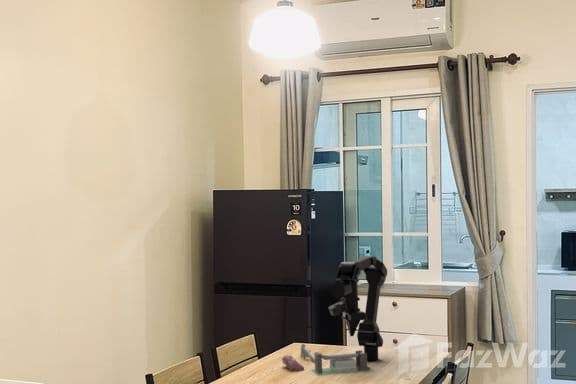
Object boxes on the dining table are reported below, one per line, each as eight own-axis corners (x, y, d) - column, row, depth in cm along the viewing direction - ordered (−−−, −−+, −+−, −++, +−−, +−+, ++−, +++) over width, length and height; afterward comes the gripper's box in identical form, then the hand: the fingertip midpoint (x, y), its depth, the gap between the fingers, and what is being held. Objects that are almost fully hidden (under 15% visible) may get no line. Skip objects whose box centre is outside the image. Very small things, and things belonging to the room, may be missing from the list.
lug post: (315, 371, 254) (314, 352, 255) (321, 370, 255) (320, 351, 255) (318, 373, 250) (317, 354, 251) (324, 372, 251) (323, 354, 251)
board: (310, 371, 257) (310, 369, 257) (364, 366, 262) (364, 364, 262) (317, 377, 247) (317, 375, 247) (373, 371, 253) (373, 370, 253)
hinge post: (353, 366, 260) (353, 350, 260) (363, 365, 261) (362, 350, 261) (359, 370, 253) (359, 354, 253) (369, 369, 254) (369, 353, 254)
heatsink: (329, 368, 258) (329, 357, 258) (349, 366, 260) (349, 356, 260) (336, 373, 250) (335, 362, 250) (356, 371, 252) (356, 360, 252)
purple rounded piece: (286, 371, 264) (278, 356, 263) (295, 365, 266) (287, 350, 265) (296, 377, 255) (288, 361, 254) (305, 370, 257) (297, 354, 256)
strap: (322, 359, 255) (322, 354, 255) (361, 356, 259) (361, 351, 259) (324, 360, 252) (324, 356, 252) (364, 357, 255) (364, 353, 256)
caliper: (300, 358, 282) (300, 343, 282) (303, 357, 282) (302, 342, 282) (320, 368, 263) (320, 351, 263) (323, 367, 263) (322, 351, 263)
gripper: (323, 293, 264) (324, 333, 263) (337, 299, 246) (339, 342, 245) (349, 291, 266) (351, 331, 266) (366, 297, 248) (368, 339, 248)
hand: (351, 336), depth 256 cm, fingers closed
